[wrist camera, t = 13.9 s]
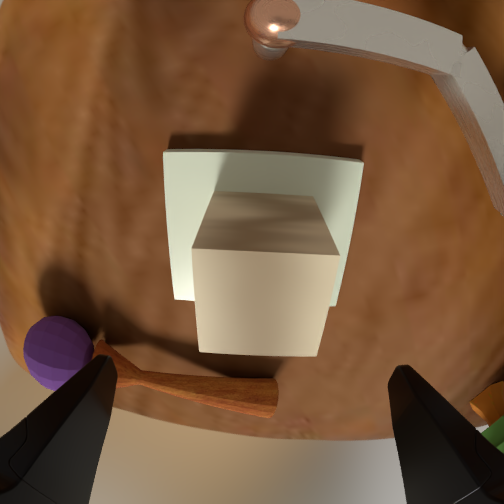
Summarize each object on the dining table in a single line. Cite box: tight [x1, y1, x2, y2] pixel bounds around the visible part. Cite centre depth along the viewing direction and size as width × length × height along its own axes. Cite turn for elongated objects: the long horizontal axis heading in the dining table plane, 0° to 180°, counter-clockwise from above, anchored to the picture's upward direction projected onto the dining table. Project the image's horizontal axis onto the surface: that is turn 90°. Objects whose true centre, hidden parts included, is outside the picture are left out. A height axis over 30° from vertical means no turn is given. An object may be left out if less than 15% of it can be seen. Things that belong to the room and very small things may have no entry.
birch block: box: [191, 191, 340, 356], centre depth 14 cm, size 5×5×6 cm
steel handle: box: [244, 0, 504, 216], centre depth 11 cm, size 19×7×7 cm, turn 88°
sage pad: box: [163, 149, 364, 306], centre depth 17 cm, size 10×9×1 cm
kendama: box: [23, 316, 278, 418], centre depth 21 cm, size 6×6×20 cm
